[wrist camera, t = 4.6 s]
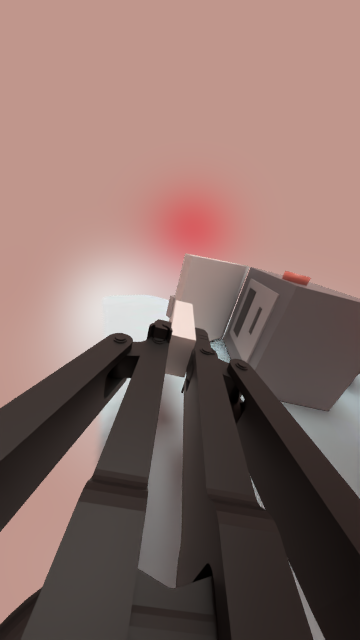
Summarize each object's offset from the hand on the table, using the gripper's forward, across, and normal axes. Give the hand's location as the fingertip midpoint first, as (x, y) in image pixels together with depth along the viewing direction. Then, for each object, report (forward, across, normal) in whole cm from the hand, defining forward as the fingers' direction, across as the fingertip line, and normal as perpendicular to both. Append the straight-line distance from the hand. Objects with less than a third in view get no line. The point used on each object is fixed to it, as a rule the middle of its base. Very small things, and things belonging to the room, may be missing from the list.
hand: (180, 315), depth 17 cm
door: (+8, +4, -6) cm, 11 cm away
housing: (+6, +14, -7) cm, 16 cm away
